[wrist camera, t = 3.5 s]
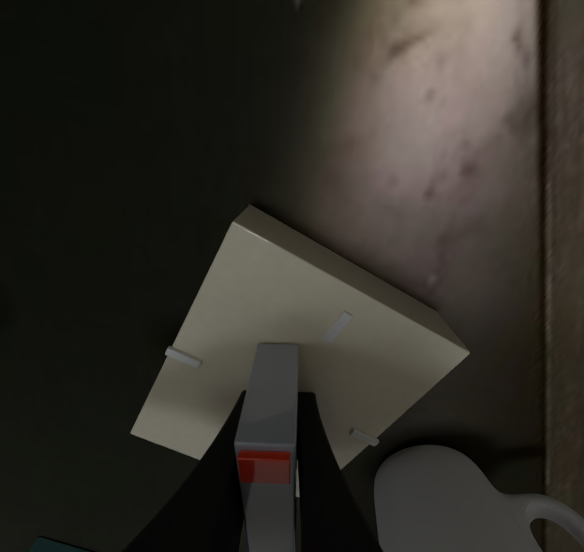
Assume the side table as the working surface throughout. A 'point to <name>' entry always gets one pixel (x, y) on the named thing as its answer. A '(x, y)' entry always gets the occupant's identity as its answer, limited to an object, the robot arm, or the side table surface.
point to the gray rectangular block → (270, 449)
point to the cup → (456, 506)
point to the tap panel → (296, 341)
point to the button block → (53, 546)
